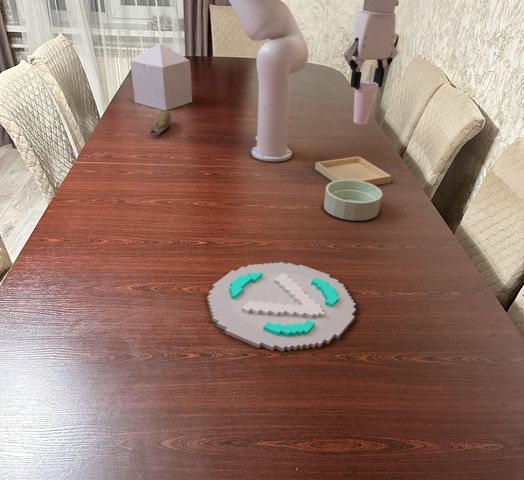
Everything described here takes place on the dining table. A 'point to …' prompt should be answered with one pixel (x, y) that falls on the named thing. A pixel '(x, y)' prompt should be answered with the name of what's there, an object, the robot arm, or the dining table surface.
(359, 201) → the bowl
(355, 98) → the smoothie
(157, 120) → the decorative bird model
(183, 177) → the dining table surface
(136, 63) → the decorative block
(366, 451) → the dining table surface
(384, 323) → the dining table surface
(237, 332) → the grey pixelated disc
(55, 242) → the dining table surface
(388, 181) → the tray
